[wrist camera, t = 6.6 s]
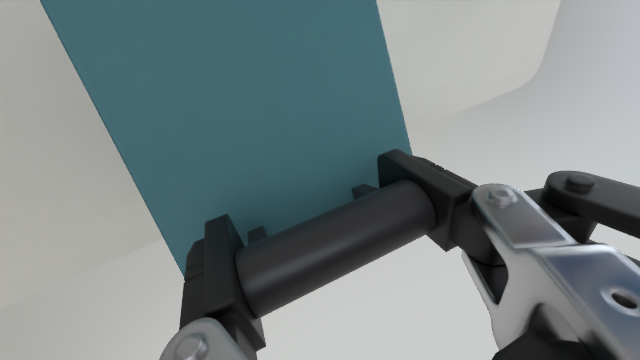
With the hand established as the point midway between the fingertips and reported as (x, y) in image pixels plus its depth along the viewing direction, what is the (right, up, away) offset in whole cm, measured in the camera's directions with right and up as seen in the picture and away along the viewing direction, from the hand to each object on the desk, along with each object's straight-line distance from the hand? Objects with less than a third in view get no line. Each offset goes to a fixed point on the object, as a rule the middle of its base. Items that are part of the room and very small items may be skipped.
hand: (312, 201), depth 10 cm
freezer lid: (-2, +3, +1) cm, 4 cm away
